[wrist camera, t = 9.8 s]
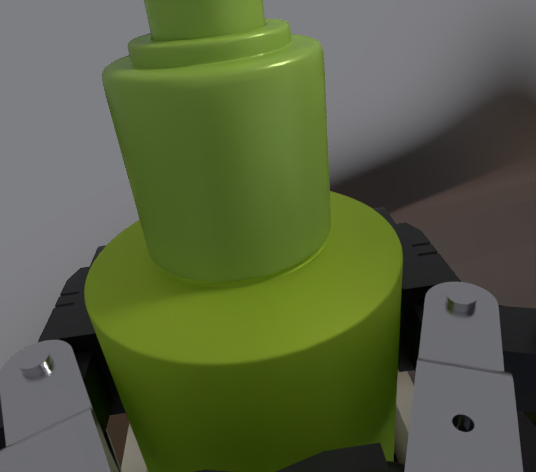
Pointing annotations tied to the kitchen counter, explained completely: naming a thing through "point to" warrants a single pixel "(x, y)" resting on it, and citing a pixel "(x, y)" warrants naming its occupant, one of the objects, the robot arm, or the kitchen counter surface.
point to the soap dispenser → (241, 253)
